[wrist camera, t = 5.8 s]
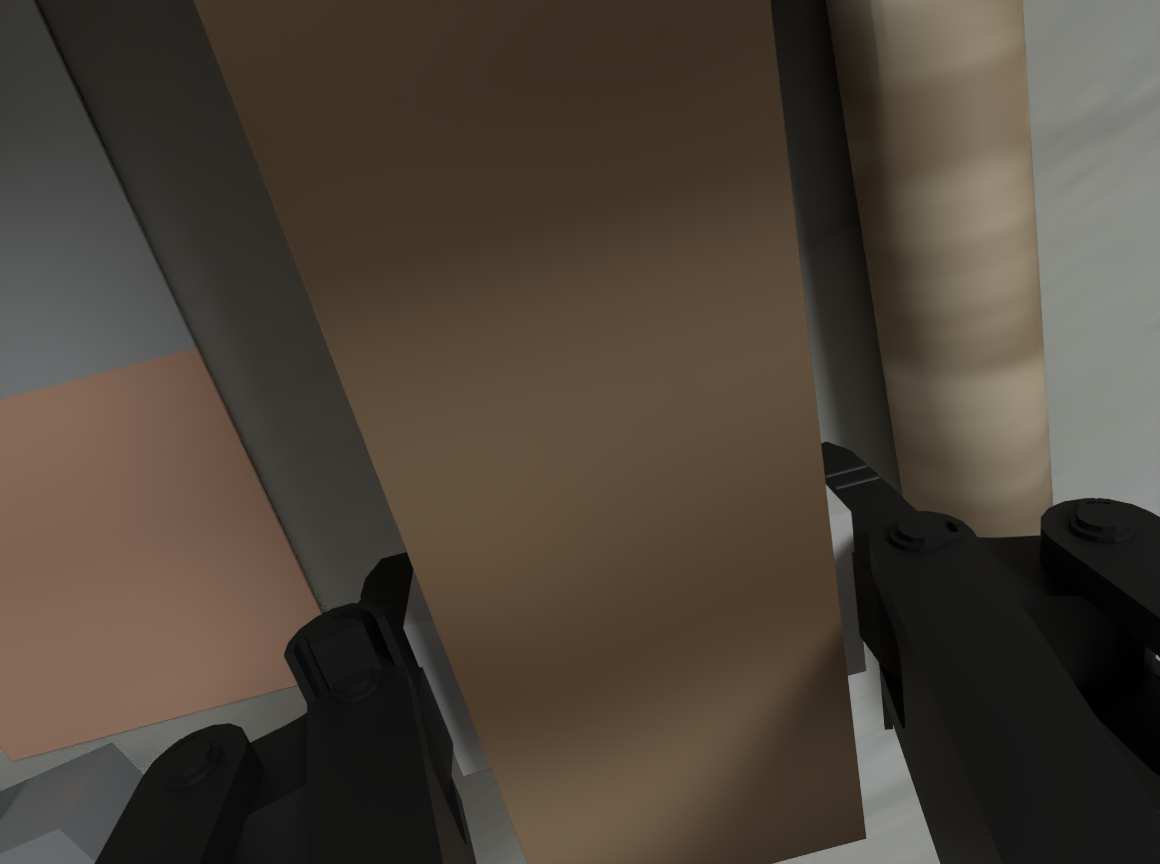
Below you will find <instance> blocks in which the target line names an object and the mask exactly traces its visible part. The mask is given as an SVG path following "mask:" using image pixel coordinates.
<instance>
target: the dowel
mask: <svg viewBox="0 0 1160 864" xmlns="http://www.w3.org/2000/svg"><path fill="white" fill-rule="evenodd" d="M826 6H827V12H828V19H829V25H830V31H831V38H832V44H833V51H834V57H835V64H836V70H837V76H838V83H839V89H840V96H841V102H842V109H843V115H844V122H845V128H846V134H847V141H848V147H849V154H850V160H851V167H852V173H853V179H854V186H855V192H856V199H857V205H858V212H859V218H860V224H861V231H862V237H863V244H864V250H865V257H866V263H867V270H868V276H869V282H870V289H871V295H872V302H873V308H874V315H875V321H876V327H877V334H878V340H879V347H880V353H881V360H882V366H883V373H884V379H885V385H886V392H887V398H888V405H889V411H890V418H891V424H892V430H893V437H894V443H895V450H896V456H897V463H898V469H899V475H900V482H901V488H902V495H903V498H904V499H905V500H906V501H907V502H908V503H909V504H910V505H911V506H913V507H914V508H915V509H916V510H917V511H931V512H937V513H943V514H947V515H950V516H952V517H954V518H957V519H959V520H961V521H963V522H964V523H965V524H966V525H968V526H969V527H970V528H971V529H972V530H973V531H974V533H975V534H976V536H977V537H997V538H998V537H1016V536H1035V535H1040V526H1041V516H1042V515H1043V514H1044V513H1045V512H1046V511H1047V509H1048V508H1050V507H1052V506H1053V495H1052V478H1051V462H1050V445H1049V429H1048V412H1047V395H1046V379H1045V362H1044V346H1043V329H1042V313H1041V296H1040V279H1039V263H1038V246H1037V230H1036V213H1035V197H1034V180H1033V163H1032V147H1031V130H1030V114H1029V97H1028V81H1027V64H1026V47H1025V31H1024V14H1023V0H826Z"/></svg>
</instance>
